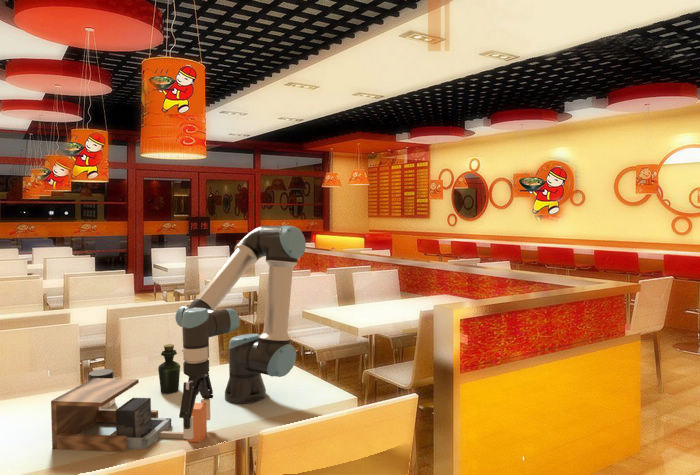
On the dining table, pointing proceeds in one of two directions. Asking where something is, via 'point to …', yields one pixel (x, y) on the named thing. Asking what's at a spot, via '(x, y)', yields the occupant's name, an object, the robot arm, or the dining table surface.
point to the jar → (103, 374)
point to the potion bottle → (169, 371)
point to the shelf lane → (88, 415)
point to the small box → (134, 418)
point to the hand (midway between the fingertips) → (197, 428)
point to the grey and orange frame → (161, 432)
